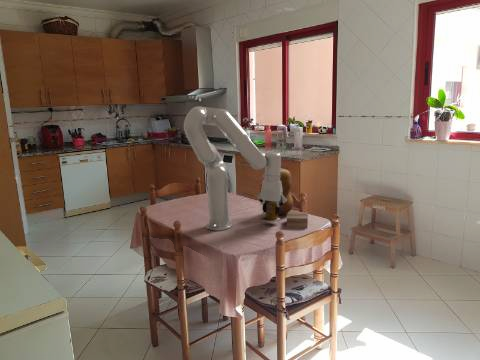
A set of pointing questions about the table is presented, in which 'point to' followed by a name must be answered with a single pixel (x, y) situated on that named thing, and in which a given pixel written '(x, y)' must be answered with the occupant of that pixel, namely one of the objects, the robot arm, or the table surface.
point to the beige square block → (297, 219)
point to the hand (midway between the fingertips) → (271, 212)
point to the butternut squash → (286, 191)
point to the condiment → (270, 212)
